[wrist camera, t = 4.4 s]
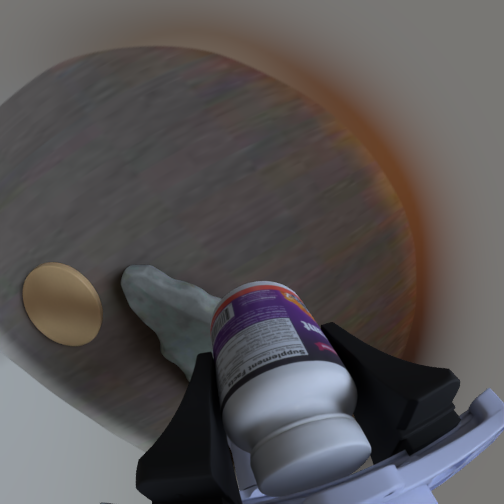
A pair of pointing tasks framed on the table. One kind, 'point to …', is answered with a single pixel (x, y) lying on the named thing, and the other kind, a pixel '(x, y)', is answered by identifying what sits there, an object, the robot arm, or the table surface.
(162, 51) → the table surface
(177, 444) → the robot arm
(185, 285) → the stone
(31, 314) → the coaster
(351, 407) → the pill bottle
